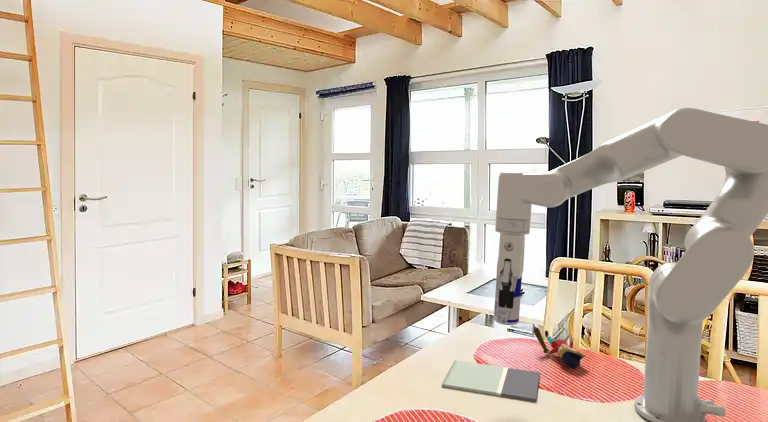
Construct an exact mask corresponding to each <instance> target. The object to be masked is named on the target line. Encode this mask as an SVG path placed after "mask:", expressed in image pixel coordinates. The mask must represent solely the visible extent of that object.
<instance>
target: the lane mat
mask: <svg viewBox="0 0 768 422" xmlns="http://www.w3.org/2000/svg"><path fill="white" fill-rule="evenodd" d="M540 375H541V373H540V372H539V371H532V370H524V369H518V368H512V367H506V366H505V367H504V366H497V365H489V364H485V363H477V362H476V363H475V362H471V361H470V362H468V361H463V360H456V359H454V361H453V363H452V365H451V367H450V368H449V370H448V372H447V374H446V376H445V377H444V379H443V381H442V383H441V387H442V388H443V387H445V388H450V389H456V390H463V391H469V392H475V393H481V394H486V395H493V396H500V397H505V398H513V399H516V400H517V399H518V400H523V401H530V402H537V399H538V398H537V396H538V389H539V381H540V380H539V379H540Z"/></svg>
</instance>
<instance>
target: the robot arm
mask: <svg viewBox="0 0 768 422" xmlns="http://www.w3.org/2000/svg"><path fill="white" fill-rule="evenodd" d="M682 156H684V157H687V158H689V159H691V158H692V159H695V160H698V161H702V162H704V163H705V162H706V163H709V164H712V165H718V166H720V167H724V170H725V171H724V172H725V179H724V182H723V185H722V187H721V188H720V190H719V192H718V193H717V195H716V196H715V197H714V199H713V201H712V202H711V203H710V205H709V206H708V207H707V208H706V210H705V211H704V212H703V213H702V215H701V216H700V217H699V218H698V219H697V221H696V222H695V223H694V224H693V226H692V227H691V228H690V229H689V230H688V232H687V233H686V235H685V237H684V243H683V244H684V249H685V251H684V253H683V254H682V256H681V257H680V258H679V259H678V261H671V262H666V263H663V264H661V265H659V266H657V268H655V269H654V270H653V272H652V274H651V275H650V277H649V281H648V287H647V288H648V289H647V290H648V291H647V298H648V300H647V301H648V302H647V303H648V304H647V305H648V306H647V309H648V310H647V331H646V345H645V362H644V363H645V365H644V377H643V378H644V379H643V380H644V381H643V382H644V383H643V395H639V396H638V397H636V398H635V400H634V409H635V410H636V412H637V413H638V414H639V415H640V416H641V417H643V418H644V419H645V420H647V421H648V422H706V416H707V415H713V416H717V417H726V408H725V406H722V405H716V404H715V402H714V400H709V399H701V398H700V397H699V379H700V367H701V366H700V365H701V352H702V351H701V350H702V343H703V342H702V340H703V321H704V320H705V319H707V318H708V317H709V316H710V315H711V314H713V313H714V311H715V310H716V309H717V308H718V307H719V306H720V304H722V302H723V301H725V299H726V297H727V296H728V295H729V294H730V293H731V291H732V290H733V289H734V288H735V287H736V285H737V284H738V283H739V282H740V281H741V280H742V279H743V277H744V276H745V275H746V274H747V272H748V271H749V269H750V268H751V266H752V264H753V261H754V258H755V257H754V256H755V247H754V246H755V245H754V243H753V241H752V239H751V237H752V235H753V234H754V233H755V231H756V230H757V229H758V227H760V225H761V223H762V222H763V221H764V220H765V218H766V217H767V215H768V124H766V123H763V122H757V121H752V120H748V119H743V118H740V117H734V116H729V115H726V114H725V115H724V114H720V113H717V112H716V113H715V112H711V111H708V110H703V109H700V108H694V107H681V108H677V109H675V110H672V111H671V112H669V113H667V114H665V115H663V116H660V117H659V118H656V119H653V120H652V121H650V122H648V123H645V124H643V125H640V126H639V127H637V128H635V129H632V130H630V131H628V132H625V133H624V134H621V135H619V136H616V137H615V138H612V139H610V140H608V141H606V142H603V143H602V144H601V145H599V146H598V147H596V148H595V149H593V150H592V151H590V152H589V153H586V154H584V155H582V156H580V157H579V158H577V159H574V160H572V161H569V162H567V163H566V164H563V165H561V166H558V167H556V168H554V169H552V170H550V171H547V172H535V173H532V172H530V171H526V170H525V171H524V170H503V171H500V173H499V175H498V185H497V197H496V198H497V199H496V213H495V216H496V217H495V228H494V229H495V232H496V233H499V244H498V245H499V246H498V257H497V262H498V275H499V276H500V275H501V276H500V277H501V284H500V289H499V302H498V306H499V307H504V308H505V305H506V308H510V309H512V308H513V301H514V291H513V284H514V277H517V279H519V278H521V275H522V276H523V272H524V266H525V265H524V263H525V262H524V261H525V260H524V259H525V247H526V245H525V244H526V243H525V241H526V237H525V236H527V235H530V230H531V229H530V228H531V218H532V205H534V206H539V207H542V208H543V207H544V208H556V207H558V206H560V205H562V204H563V203H565V201H566V200H569V199H571V198H573V197H576V196H578V195H580V194H582V193H585V192H588V191H590V190H592V189H595V188H598V187H600V186H603V185H607V184H612V183H617V182H621V181H623V180H626V179H629V178H631V177H634V176H636V175H639V174H641V173H643V172H646V171H647V170H650V169H651V170H652V168H655V167H657V166H660V165H662V164H664V163H667V162H670V161H672V160H675V159H676V158H679V157H682ZM522 265H523V266H522ZM522 267H523V268H522ZM500 271H502V273H500ZM503 271H504V273H503ZM512 272H513V274H512ZM510 273H511V274H512V277H509V275H510ZM509 280H511V282H510V281H509Z"/></svg>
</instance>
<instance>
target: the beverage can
mask: <svg viewBox="0 0 768 422" xmlns="http://www.w3.org/2000/svg"><path fill="white" fill-rule="evenodd" d="M496 266H497V267H496V279H495V281H496V282H495V296H494V308H493V312H494V313H493V319H494V321H495V322H496V323H498V324H499V325H503V326H514V325H515V326H516V325H518V324H519V322H520V311H521V297H522V296H521V295H522V280H523V274H522V275H521V278H519V279H517V277H514V284H513V291H514V301H513V308H512V309H510V308H506V305H505V308H504V307H499V306H498V302H499V289H500V284H501V277H500V276H501V275H500V276H499V275H498V261H497V263H496ZM522 266H523V265H522ZM522 268H523V269H524V266H523V267H522ZM500 273H502V271H500ZM503 273H504V271H503ZM512 274H513V272H512ZM512 274H511V273H510V275H509V277H512ZM509 281H510V282H511V280H509Z"/></svg>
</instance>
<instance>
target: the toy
mask: <svg viewBox="0 0 768 422" xmlns="http://www.w3.org/2000/svg"><path fill="white" fill-rule="evenodd" d="M533 334H534V335H535V337H536V340H537V341H538V343H539V345H540V346H541V348H542V350H543V354H545V355H546V356H547V357H548V358H549V357H550V355H551V354H558V356H559V357H560V359H561V361H562V362H563V364H564V365H565V366H568V367H570V368H572V369H576V368H578V367H579V366H580V365H581V360H583V359H584V358H585V357H586V355H585V354H584V353H582V352H580V351H579V350H576V349H575V348H574V342H575V341H574V339H575V338H574V337H572V339H571V341H570V343H569V344H568V343H567V342H566V339H563V338H553V337H552V336H551V335H549V331H548V330H545V331H544V337H545V339H547V341H548V343H549V344H550V346H551V350H550V349H549V348H547V346H546V343H545V340H544V338H543V335H542V333H541V330H540V328H538V326H535V325H534V326H533Z"/></svg>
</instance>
